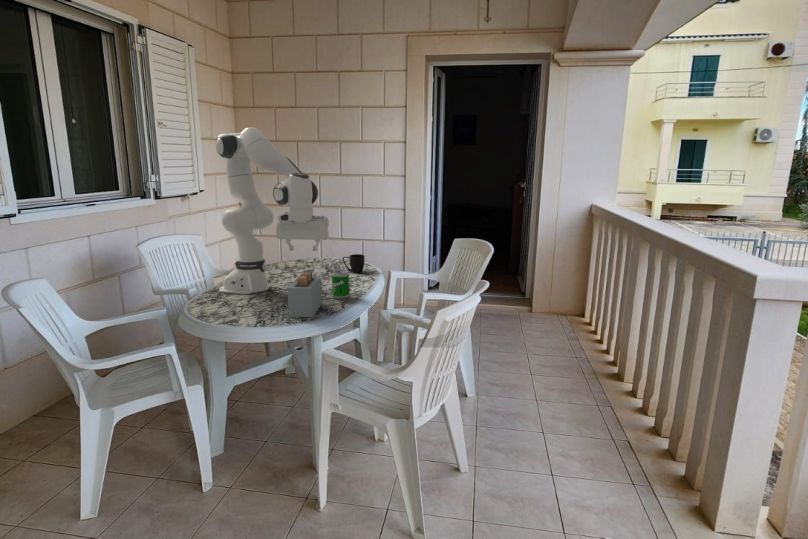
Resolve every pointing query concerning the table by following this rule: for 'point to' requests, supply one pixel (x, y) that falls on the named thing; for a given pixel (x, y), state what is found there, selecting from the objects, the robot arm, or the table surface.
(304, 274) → the brown rectangular block
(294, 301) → the grey hollow frame
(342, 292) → the soda can
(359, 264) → the mug
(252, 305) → the table surface
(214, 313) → the table surface
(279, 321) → the table surface
